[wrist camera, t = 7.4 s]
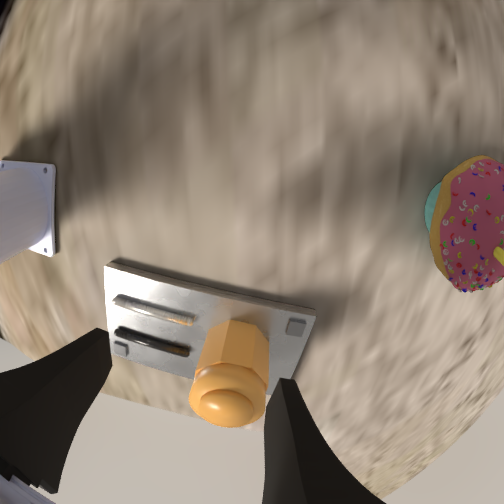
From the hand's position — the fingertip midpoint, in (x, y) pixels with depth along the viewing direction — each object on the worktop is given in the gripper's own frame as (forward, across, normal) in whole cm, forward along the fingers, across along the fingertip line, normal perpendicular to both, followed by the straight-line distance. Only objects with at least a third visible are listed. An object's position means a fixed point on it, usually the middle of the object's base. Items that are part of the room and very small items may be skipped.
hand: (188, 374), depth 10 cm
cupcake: (+10, -15, -9) cm, 20 cm away
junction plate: (+10, +1, +6) cm, 11 cm away
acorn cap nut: (+9, -2, +5) cm, 10 cm away
